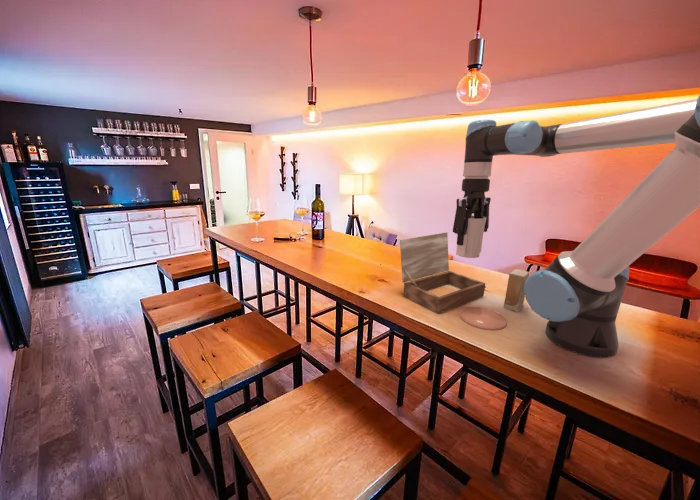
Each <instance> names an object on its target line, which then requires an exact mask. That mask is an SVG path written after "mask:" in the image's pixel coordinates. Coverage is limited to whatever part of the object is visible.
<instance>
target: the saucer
mask: <svg viewBox="0 0 700 500" xmlns="http://www.w3.org/2000/svg"><path fill="white" fill-rule="evenodd" d="M459 317H460V319H461V320H462V321H463V322H464V323H465V324H467V325H470V326H471V327H475V328H477V329H481V330H488V331H499V330H501V329H504V328H505V327H507V323H508V320H507V318H506V317H505V316H504V315H503V314H501V313H500V312H498V311H496V310H493V309H491V308H487V307H483V306H482V307H481V306H473V305H472V306H466V307H463V308H462V309H460V312H459Z"/></svg>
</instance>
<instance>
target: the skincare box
mask: <svg viewBox="0 0 700 500" xmlns="http://www.w3.org/2000/svg"><path fill="white" fill-rule="evenodd" d="M529 276H530V272H529V271H526V270H522V269H517V268H515V269H513V270H512V271H511V272H509V274H508V280H507V286H506V291H505V292H506V293H505V297H504V303H503V308H504V309H507V310H510V311H513V312H516V313H517V312H518V313H519V311H520V310H522V309H521V308H523V306H524V302H525V299H526V298H525V296H526V295H525V292H524V285H525V282H526V280H527V278H528V277H529Z"/></svg>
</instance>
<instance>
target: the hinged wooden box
mask: <svg viewBox="0 0 700 500" xmlns="http://www.w3.org/2000/svg"><path fill="white" fill-rule="evenodd" d="M448 236H449V235H448V232H441V233H434V234H428V235H423V236H417V237H415V236H414V237H410V238H402V239H399V247H400V248H399V249H400V260H401V261H400V263H401V267H400V268H401V279H402V280H401V281H402V283H403V294H402V297H404V298H406V299H408V300H409V301H412V302H414V303H416V304H418V305H420V306H421V307H424V308H426V309H427V310H430V311H431V312H434V313H436V314H438V315H439V314H442V313H444V312H446V311H449V310H452V309H454V308H456V307H460V306H462V305H465V304H466V303H470V302H472V301H474V300H478V299H480V298H482V297H484V294H485V287H486V282H483V281H480V280H478V279H474V278H471V277H468V276H466V275H463V274H460V273H457V272H454V271H451V270H450V268H449V267H450V266H449V265H450V262H449V240H448V239H449V238H448ZM448 285H450V286H452V287H454V288H457V289H458V290H455V291H451V292H449V293H447V294H444V295H440V296H438V295H436V294H434V293H432V292H429V291H431V290H433V289H438V288H441V287H443V286H448Z"/></svg>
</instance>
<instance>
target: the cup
mask: <svg viewBox="0 0 700 500" xmlns="http://www.w3.org/2000/svg"><path fill="white" fill-rule="evenodd" d="M485 223H486V217H483V218H482V219H474V215H472V216H471V218H468V228H467V231H466V234H465V235H467V244H466V254H465V256H460V255H458V257H462V258H467V259H477V258H479V257H480V254H481V253H480V248H481V243H482V244H483V239H482V238H483V236H484V233H485V232H484V228H485ZM481 249H482V248H481Z"/></svg>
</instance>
